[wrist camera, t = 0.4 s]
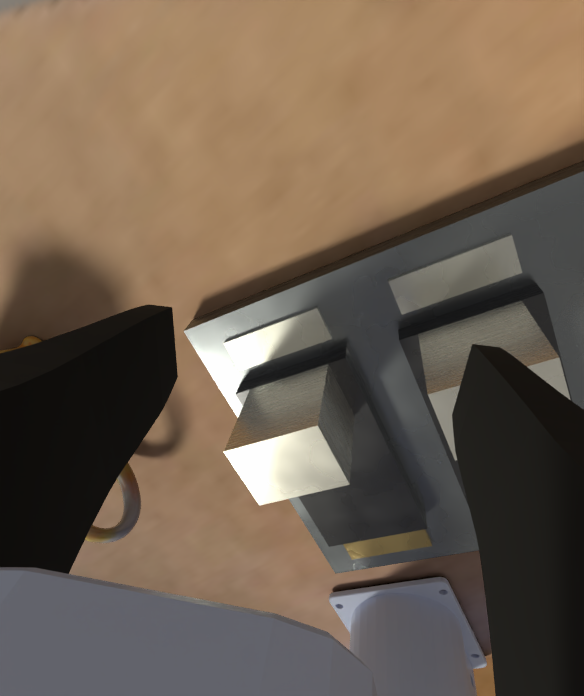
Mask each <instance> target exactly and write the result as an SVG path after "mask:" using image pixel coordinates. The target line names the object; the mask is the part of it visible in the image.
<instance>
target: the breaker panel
mask: <svg viewBox="0 0 584 696" xmlns="http://www.w3.org/2000/svg"><path fill="white" fill-rule="evenodd" d="M184 333H185V334H186V336H187V337H188V339H189V341H190V342H191V344H192V345H193V347H194V349H195V350H196V352H197V353H198V355H199V357H200V358H201V360H202V361H203V363H204V365H205V366H206V368H207V369H208V371H209V373H210V374H211V376H212V377H213V379H214V380H215V382H216V384H217V385H218V387H219V388H220V390H221V392H222V393H223V395H224V396H225V398H226V400H227V401H228V403H229V404H230V406H231V408H232V409H233V411H234V412H235V414H236V416H237V417H238V419H237V421H236V424H235V426H234V429H233V431H232V433H231V436H230V438H229V441H228V443H227V445H226V448H225V450H224V453H225V455H226V456H227V458H228V459H229V461H230V462H231V464H232V465H233V467H234V468H235V470H236V471H237V473H238V474H239V476H240V477H241V479H242V480H243V482H244V483H245V485H246V486H247V488H248V489H249V491H250V492H251V494H252V495H253V497H254V498H255V500H256V501H257V503H258V504H259V505H263V504H268V503H272V502H276V501H281V500H285V499H289V500H290V502H291V503H292V505H293V506H294V508H295V510H296V511H297V513H298V514H299V516H300V518H301V519H302V521H303V522H304V524H305V526H306V527H307V529H308V530H309V532H310V534H311V535H312V537H313V538H314V540H315V541H316V543H317V545H318V546H319V548H320V549H321V551H322V553H323V554H324V556H325V557H326V559H327V561H328V562H329V564H330V565H331V567H332V569H333V570H334V572H335V573H342V572H348V571H354V570H360V569H366V568H372V567H379V566H385V565H391V564H397V563H403V562H410V561H416V560H422V559H428V558H434V557H441V556H447V555H453V554H459V553H465V552H472V551H478V550H479V547H478V542H477V537H476V533H475V529H474V525H473V521H472V517H471V513H470V509H469V505H468V501H467V497H466V493H465V489H464V485H463V481H462V477H461V473H460V469H459V465H458V461H457V456H456V452H455V444H454V434H453V422H452V413H453V410H454V406H455V403H456V399H457V395H458V392H459V388H460V385H461V381H462V378H463V374H464V371H465V367H466V364H467V360H468V357H469V353H470V350H471V346H472V344H477V345H485V346H494V347H500V348H502V349H504V350H505V351H507V352H508V353H510V354H511V355H512V356H514V357H515V358H516V359H518V360H519V361H520V362H522V363H523V364H524V365H525V366H527V367H528V368H529V369H530V370H532V371H533V372H534V373H536V374H537V375H538V376H539V377H541V378H542V379H543V380H544V381H546V382H547V383H548V384H550V385H551V386H552V387H554V388H555V389H556V390H557V391H559V392H560V393H561V394H563V395H564V396H565V397H567V398H568V399H570V400H571V401H572V402H574V403H575V404H576V405H578V406H579V407H581V408H582V409H584V161H582V162H580V163H577V164H575V165H572V166H570V167H568V168H565V169H563V170H560V171H558V172H555V173H553V174H550V175H548V176H545V177H543V178H540V179H538V180H536V181H533V182H531V183H528V184H526V185H523V186H521V187H518V188H516V189H513V190H511V191H509V192H506V193H504V194H501V195H499V196H496V197H494V198H491V199H489V200H486V201H484V202H481V203H479V204H477V205H474V206H472V207H469V208H467V209H464V210H462V211H459V212H457V213H454V214H452V215H450V216H447V217H445V218H442V219H440V220H437V221H435V222H432V223H430V224H427V225H425V226H422V227H420V228H418V229H415V230H413V231H410V232H408V233H405V234H403V235H400V236H398V237H395V238H393V239H391V240H388V241H386V242H383V243H381V244H378V245H376V246H373V247H371V248H368V249H366V250H363V251H361V252H359V253H356V254H354V255H351V256H349V257H346V258H344V259H341V260H339V261H336V262H334V263H332V264H329V265H327V266H324V267H322V268H319V269H317V270H314V271H312V272H309V273H307V274H304V275H302V276H300V277H297V278H295V279H292V280H290V281H287V282H285V283H282V284H280V285H277V286H275V287H273V288H270V289H268V290H265V291H263V292H260V293H258V294H255V295H253V296H250V297H248V298H245V299H243V300H241V301H238V302H236V303H233V304H231V305H228V306H226V307H223V308H221V309H218V310H216V311H214V312H211V313H209V314H206V315H204V316H201V317H199V318H196V319H194V320H192V321H191V322H190V324H189V325H188V326H187V328H186V329H185V330H184Z"/></svg>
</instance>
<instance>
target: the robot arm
mask: <svg viewBox="0 0 584 696" xmlns="http://www.w3.org/2000/svg"><path fill="white" fill-rule="evenodd" d="M177 377H178V376H177V363H176V351H175V338H174V326H173V313H172V307H164V306H156V305H145V306H140V307H137V308H134V309H131V310H128V311H125V312H122V313H119V314H117V315H114V316H111V317H109V318H106V319H103V320H101V321H98V322H95V323H93V324H90V325H88V326H85V327H82V328H80V329H77V330H74V331H71V332H68V333H65V334H62V335H59V336H56V337H53V338H51V339H48V340H45V341H42V342H39V343H36V344H32V345H29V346H26V347H22V348H19V349H15V350H11V351H7V352H4V353H0V696H477V692H476V686H475V679H474V673H473V669H474V668H483V667H485V666H486V665H487V662H486V658H485V656H484V654H483V652H482V650H481V647H480V645H479V643H478V641H477V639H476V637H475V635H474V633H473V631H472V629H471V627H470V625H469V623H468V621H467V619H466V617H465V615H464V613H463V610H462V608H461V606H460V604H459V602H458V600H457V598H456V596H455V594H454V592H453V590H452V588H451V586H450V584H449V582H448V580H447V579H445V578H444V577H434V578H427V579H420V580H413V581H406V582H400V583H393V584H386V585H379V586H372V587H366V588H359V589H352V590H345V591H338V592H333V593H331V594H330V596H329V602H330V603H331V605H332V607H333V608H334V610H335V611H336V613H337V614H338V616H339V617H340V619H341V620H342V622H343V623H344V625H345V626H346V628H347V629H348V631H349V632H350V651H349V650H348V649H347V648H346V647H345V646H344V645H342V644H341V643H340V642H339V641H338V640H336V639H335V638H334V637H333V636H332V635H330V634H329V633H328V632H326V631H323V630H320V629H317V628H315V627H312V626H309V625H306V624H303V623H301V622H298V621H295V620H292V619H289V618H286V617H284V616H281V615H278V614H275V613H270V612H264V611H259V610H254V609H249V608H243V607H238V606H233V605H228V604H223V603H217V602H212V601H207V600H202V599H196V598H191V597H186V596H181V595H176V594H170V593H165V592H160V591H155V590H149V589H144V588H139V587H134V586H129V585H123V584H118V583H113V582H108V581H102V580H97V579H92V578H87V577H82V576H76V575H71V574H69V572H70V569H71V567H72V565H73V563H74V561H75V559H76V557H77V555H78V553H79V550H80V548H81V546H82V544H83V542H84V540H85V538H86V536H87V534H88V532H89V530H90V528H91V526H92V524H93V522H94V520H95V518H96V516H97V514H98V512H99V510H100V508H101V506H102V504H103V502H104V500H105V499H106V497H107V495H108V493H109V491H110V489H111V488H112V486H113V484H114V483H115V481H116V479H117V478H118V476H119V475H120V473H121V472H122V470H123V469H124V467H125V466H126V464H127V463H128V461H129V460H130V458H131V457H132V455H133V454H134V452H135V451H136V449H137V448H138V446H139V445H140V443H141V442H142V440H143V439H144V437H145V436H146V434H147V433H148V431H149V430H150V428H151V427H152V425H153V424H154V422H155V420H156V419H157V417H158V416H159V414H160V413H161V411H162V410H163V408H164V406H165V404H166V402H167V400H168V398H169V395H170V393H171V391H172V389H173V386H174V384H175V382H176V380H177ZM452 422H453V434H454V444H455V452H456V456H457V461H458V465H459V469H460V473H461V477H462V481H463V485H464V489H465V493H466V497H467V501H468V505H469V509H470V513H471V517H472V521H473V525H474V529H475V533H476V537H477V542H478V547H479V552H480V558H481V565H482V573H483V580H484V588H485V595H486V604H487V612H488V621H489V630H490V639H491V648H492V659H493V671H494V682H495V693H496V696H584V409H582V408H581V407H579V406H578V405H576V404H575V403H574V402H572V401H571V400H570V399H568V398H567V397H565V396H564V395H563V394H561V393H560V392H559V391H557V390H556V389H555V388H554V387H552V386H551V385H550V384H548V383H547V382H546V381H544V380H543V379H542V378H541V377H539V376H538V375H537V374H536V373H534V372H533V371H532V370H530V369H529V368H528V367H527V366H525V365H524V364H523V363H522V362H520V361H519V360H518V359H516V358H515V357H514V356H512V355H511V354H510V353H508V352H507V351H505V350H504V349H502V348H500V347H494V346H485V345H477V344H472V346H471V350H470V353H469V357H468V360H467V364H466V367H465V371H464V374H463V378H462V381H461V385H460V388H459V392H458V395H457V399H456V403H455V406H454V410H453V413H452Z"/></svg>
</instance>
